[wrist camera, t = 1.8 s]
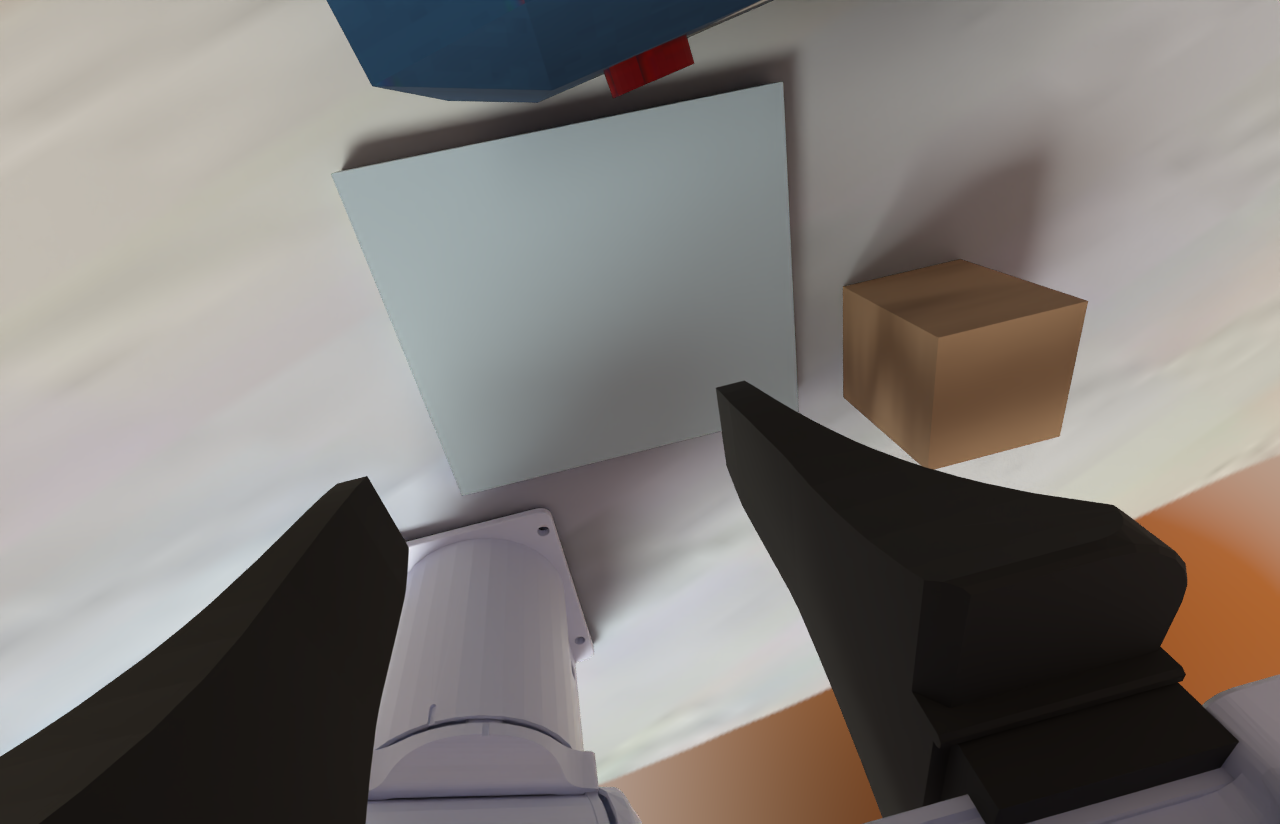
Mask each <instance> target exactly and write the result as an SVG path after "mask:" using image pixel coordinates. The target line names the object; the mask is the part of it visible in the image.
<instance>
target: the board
mask: <svg viewBox="0 0 1280 824" xmlns="http://www.w3.org/2000/svg"><path fill="white" fill-rule="evenodd" d="M331 175H332V177H333V180H334V182H335V185H336V187H337V190H338V192H339V195H340V197H341V199H342V202H343V204H344V207H345V209H346V212H347V214H348V217H349V219H350V222H351V224H352V226H353V229H354V231H355V234H356V236H357V239H358V241H359V244H360V246H361V249H362V251H363V254H364V256H365V258H366V261H367V263H368V266H369V268H370V271H371V273H372V276H373V278H374V281H375V283H376V285H377V288H378V290H379V293H380V295H381V298H382V300H383V303H384V305H385V308H386V310H387V312H388V315H389V317H390V320H391V322H392V325H393V327H394V330H395V332H396V335H397V337H398V340H399V342H400V344H401V347H402V349H403V352H404V354H405V357H406V359H407V362H408V364H409V367H410V369H411V371H412V374H413V376H414V379H415V381H416V384H417V386H418V389H419V391H420V394H421V396H422V399H423V401H424V403H425V406H426V408H427V411H428V413H429V416H430V418H431V421H432V423H433V426H434V428H435V430H436V433H437V435H438V438H439V440H440V443H441V445H442V448H443V450H444V453H445V455H446V457H447V460H448V462H449V465H450V467H451V470H452V472H453V475H454V477H455V480H456V482H457V485H458V487H459V489H460V492H461V494H462V496H464V495H468V494H472V493H476V492H480V491H484V490H488V489H492V488H496V487H500V486H504V485H508V484H512V483H516V482H520V481H524V480H528V479H532V478H536V477H540V476H544V475H548V474H552V473H556V472H560V471H564V470H568V469H572V468H576V467H580V466H584V465H588V464H592V463H596V462H600V461H604V460H608V459H612V458H616V457H620V456H624V455H628V454H632V453H636V452H640V451H644V450H648V449H652V448H656V447H660V446H664V445H668V444H672V443H676V442H680V441H684V440H688V439H692V438H696V437H700V436H704V435H708V434H712V433H716V432H720V431H722V430H721V422H720V415H719V408H718V401H717V394H716V388H717V387H720V386H724V385H728V384H732V383H736V382H740V381H744V380H745V381H746V382H748V383H750V384H751V385H753V386H755V387H756V388H758V389H760V390H761V391H763V392H764V393H766V394H768V395H769V396H771V397H773V398H774V399H776V400H778V401H779V402H781V403H783V404H784V405H786V406H788V407H789V408H791V409H793V410H795V411H796V412H799V408H798V387H797V366H796V345H795V323H794V302H793V281H792V260H791V239H790V218H789V196H788V175H787V154H786V133H785V112H784V91H783V82H776V83H769V84H764V85H759V86H754V87H750V88H745V89H740V90H735V91H730V92H725V93H720V94H715V95H710V96H705V97H700V98H696V99H691V100H686V101H681V102H676V103H671V104H666V105H661V106H656V107H651V108H646V109H642V110H637V111H632V112H627V113H622V114H617V115H612V116H607V117H602V118H597V119H592V120H588V121H583V122H578V123H573V124H568V125H563V126H558V127H553V128H548V129H543V130H539V131H534V132H529V133H524V134H519V135H514V136H509V137H504V138H499V139H494V140H489V141H485V142H480V143H475V144H470V145H465V146H460V147H455V148H450V149H445V150H440V151H435V152H431V153H426V154H421V155H416V156H411V157H406V158H401V159H396V160H391V161H386V162H382V163H377V164H372V165H367V166H362V167H357V168H352V169H347V170H342V171H338V172H335V173H332V174H331Z"/></svg>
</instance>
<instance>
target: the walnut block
mask: <svg viewBox="0 0 1280 824" xmlns="http://www.w3.org/2000/svg"><path fill="white" fill-rule="evenodd" d="M1087 304H1088V301H1086V300H1083V299H1080V298H1077V297H1074V296H1071V295H1068V294H1065V293H1062V292H1059V291H1056V290H1053V289H1050V288H1047V287H1044V286H1041V285H1038V284H1035V283H1032V282H1029V281H1025V280H1022V279H1019V278H1016V277H1013V276H1010V275H1007V274H1004V273H1001V272H998V271H995V270H992V269H989V268H986V267H983V266H980V265H977V264H974V263H971V262H968V261H965V260H962V259H958V260H954V261H950V262H946V263H941V264H937V265H933V266H929V267H924V268H920V269H916V270H912V271H907V272H903V273H899V274H895V275H890V276H886V277H882V278H878V279H873V280H869V281H865V282H861V283H856V284H852V285H848V286H843V397H844V398H845V399H846V400H847V401H848V402H849V403H851V404H852V405H853V406H854V407H855V408H856V409H857V410H859V411H860V412H861V413H862V414H863V415H864V416H865V417H866V418H868V419H869V420H870V421H871V422H872V423H873V424H874V425H876V426H877V427H878V428H879V429H880V430H881V431H882V432H884V433H885V434H886V435H887V436H888V437H889V438H890V439H892V440H893V441H894V442H895V443H896V444H897V445H898V446H900V447H901V448H902V449H903V450H904V451H905V452H906V453H907V454H909V455H910V456H911V457H912V458H913V459H914V460H915V461H917V462H918V463H919V464H920V465H921V466H923V467H926V468H930V469H933V470H934V469H938V468H941V467H945V466H949V465H953V464H957V463H960V462H964V461H968V460H972V459H976V458H979V457H983V456H987V455H991V454H994V453H998V452H1002V451H1006V450H1010V449H1013V448H1017V447H1021V446H1025V445H1028V444H1032V443H1036V442H1040V441H1044V440H1047V439H1051V438H1055V437H1059V436H1060V432H1061V427H1062V423H1063V418H1064V413H1065V408H1066V404H1067V399H1068V394H1069V389H1070V385H1071V380H1072V375H1073V370H1074V366H1075V361H1076V356H1077V351H1078V346H1079V342H1080V337H1081V332H1082V327H1083V323H1084V318H1085V313H1086V308H1087Z"/></svg>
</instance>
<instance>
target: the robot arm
mask: <svg viewBox="0 0 1280 824" xmlns="http://www.w3.org/2000/svg"><path fill="white" fill-rule="evenodd" d="M716 394H717V401H718V408H719V415H720V422H721V430H722V437H723V444H724V451H725V458H726V465H727V468H728V471H729V473H730V476H731V478H732V481H733V484H734V486H735V489H736V491H737V494H738V496H739V499H740V501H741V503H742V506H743V508H744V509H745V511H746V513H747V515H748V517H749V519H750V520H751V522H752V524H753V526H754V528H755V530H756V531H757V533H758V535H759V537H760V539H761V540H762V542H763V544H764V546H765V548H766V549H767V551H768V553H769V555H770V557H771V558H772V560H773V562H774V564H775V566H776V567H777V569H778V571H779V573H780V574H781V576H782V578H783V580H784V582H785V583H786V585H787V587H788V589H789V591H790V593H791V595H792V597H793V599H794V601H795V603H796V605H797V607H798V609H799V611H800V613H801V616H802V618H803V620H804V623H805V625H806V627H807V630H808V632H809V634H810V637H811V639H812V641H813V644H814V646H815V648H816V651H817V653H818V655H819V658H820V660H821V663H822V665H823V667H824V670H825V672H826V675H827V677H828V680H829V682H830V684H831V687H832V689H833V691H834V694H835V697H836V699H837V701H838V704H839V706H840V709H841V711H842V714H843V717H844V719H845V721H846V724H847V727H848V729H849V732H850V734H851V737H852V739H853V741H854V744H855V747H856V749H857V752H858V754H859V757H860V759H861V762H862V765H863V767H864V770H865V773H866V775H867V778H868V780H869V783H870V786H871V788H872V791H873V794H874V796H875V799H876V802H877V804H878V807H879V809H880V812H881V815H882V817H883V818H882V819H878V820H875V821H871V822H868V823H864V824H1280V675H1276V676H1273V677H1269V678H1265V679H1262V680H1259V681H1255V682H1251V683H1248V684H1244V685H1241V686H1237V687H1233V688H1231V689H1228V690H1226V691H1223V692H1221V693H1219V694H1217V695H1215V696H1214V697H1212V698H1210V699H1209V700H1207V701H1206V702H1205V703H1204V704H1203V705H1201V704H1200V703H1199V702H1198V701H1197V700H1196V699H1195V698H1194V697H1193V696H1192V695H1190V694H1189V693H1188V692H1187V691H1186V690H1185V689H1184V688H1183V687H1182V686H1181V685H1180V684H1179V683H1178V682H1180V681H1183V679H1184V677H1185V675H1186V674H1185V672H1184V670H1183V668H1182V666H1181V665H1180V664H1178V663H1177V662H1176V661H1175V660H1174V659H1173V658H1172V657H1171V656H1170V655H1169V654H1168V653H1167V652H1166V651H1164V650H1163V649H1162V648H1161V647H1160V646H1161V644H1162V642H1163V640H1164V638H1165V636H1166V634H1167V631H1168V629H1169V627H1170V625H1171V623H1172V621H1173V619H1174V617H1175V615H1176V613H1177V611H1178V609H1179V607H1180V605H1181V603H1182V600H1183V597H1184V594H1185V591H1186V587H1187V573H1186V565H1185V562H1184V561H1183V560H1182V559H1181V558H1180V556H1179V555H1178V554H1177V553H1176V552H1175V551H1174V550H1173V549H1171V548H1170V547H1169V546H1168V545H1166V544H1165V543H1164V542H1162V541H1161V540H1160V539H1158V538H1157V537H1156V536H1154V535H1153V534H1152V533H1150V532H1149V531H1148V530H1146V529H1145V528H1144V527H1142V526H1141V525H1139V523H1137V522H1136V521H1135V520H1133V519H1132V518H1131V517H1129V516H1128V515H1127V514H1125V513H1124V512H1123V511H1121V510H1120V509H1118V508H1117V507H1115V506H1114V505H1109V504H1103V503H1096V502H1089V501H1082V500H1076V499H1069V498H1062V497H1055V496H1048V495H1042V494H1035V493H1030V492H1025V491H1020V490H1015V489H1010V488H1005V487H1001V486H996V485H991V484H986V483H982V482H978V481H974V480H970V479H966V478H962V477H958V476H954V475H951V474H947V473H944V472H940V471H937V470H933V469H930V468H926V467H923V466H920V465H917V464H914V463H911V462H908V461H905V460H902V459H899V458H896V457H894V456H891V455H888V454H886V453H883V452H880V451H878V450H875V449H872V448H870V447H867V446H865V445H863V444H860V443H858V442H856V441H853V440H851V439H849V438H847V437H845V436H843V435H841V434H839V433H836V432H834V431H832V430H830V429H828V428H826V427H824V426H822V425H820V424H818V423H816V422H814V421H813V420H811V419H809V418H807V417H805V416H803V415H802V414H800V413H798V412H796V411H795V410H793V409H791V408H789V407H788V406H786V405H784V404H783V403H781V402H779V401H778V400H776V399H774V398H773V397H771V396H769V395H768V394H766V393H764V392H763V391H761V390H760V389H758V388H756V387H755V386H753V385H751V384H750V383H748V382H746V381H745V380H744V381H740V382H736V383H732V384H728V385H724V386H720V387H717V388H716ZM544 526H545V527H548V529H546V530H539V528H540V527H544ZM578 637H581V638H578ZM593 655H594V646H593V643H592V640H591V637H590V633H589V630H588V627H587V624H586V621H585V618H584V615H583V612H582V608H581V605H580V602H579V599H578V596H577V593H576V590H575V586H574V583H573V580H572V577H571V574H570V571H569V568H568V564H567V561H566V558H565V555H564V552H563V549H562V546H561V543H560V539H559V536H558V533H557V530H556V527H555V524H554V521H553V517H552V514H551V513H550V511H548V510H547V509H544V508H537V509H533V510H529V511H525V512H521V513H517V514H513V515H509V516H505V517H501V518H497V519H493V520H490V521H486V522H482V523H478V524H474V525H470V526H466V527H462V528H458V529H454V530H450V531H446V532H442V533H438V534H435V535H431V536H427V537H423V538H419V539H415V540H411V541H407V542H405V540H404V538H403V537H402V535H401V533H400V532H399V530H398V528H397V526H396V525H395V523H394V521H393V520H392V518H391V516H390V514H389V513H388V511H387V509H386V508H385V506H384V504H383V502H382V501H381V499H380V497H379V496H378V494H377V492H376V490H375V489H374V487H373V485H372V484H371V482H370V480H369V478H368V477H367V476H366V477H362V478H358V479H354V480H350V481H346V482H342V483H338V484H336V485H335V486H334V487H333V488H331V489H330V490H329V491H328V492H327V493H326V494H324V495H323V496H322V497H321V498H320V499H319V500H318V501H317V502H316V503H315V504H314V505H313V506H312V507H311V508H310V509H309V510H307V511H306V512H305V513H304V514H303V515H302V516H301V517H300V518H299V519H298V520H297V521H296V522H295V523H294V524H293V525H292V526H291V527H290V528H289V529H288V530H287V531H286V532H285V533H284V534H283V535H282V536H281V537H280V538H279V539H278V540H277V541H276V542H275V543H274V544H273V545H272V546H271V547H270V548H269V549H268V550H267V551H266V552H265V553H264V554H263V555H262V556H261V557H260V558H259V559H258V560H257V561H256V562H255V563H254V564H253V565H251V566H250V567H249V568H248V569H247V570H246V571H245V572H244V573H243V574H242V575H241V576H240V577H238V578H237V579H236V580H235V581H234V582H233V583H232V584H231V585H230V586H229V587H228V588H227V589H226V590H224V591H223V592H222V593H221V594H220V595H219V596H218V597H217V598H216V599H215V600H214V601H213V602H211V603H210V604H209V605H208V606H207V607H206V608H205V609H203V610H202V611H201V612H200V613H199V614H198V615H197V616H195V617H194V618H193V619H192V620H191V621H189V622H188V623H187V624H186V625H185V626H183V627H182V628H181V629H180V630H179V631H177V632H176V633H175V634H174V635H172V636H171V637H170V638H169V639H167V640H166V641H165V642H164V643H162V644H161V645H160V646H159V647H157V648H156V649H155V650H154V651H152V652H151V653H150V654H148V655H147V656H146V657H145V658H143V659H142V660H141V661H139V662H138V663H137V664H135V665H134V666H132V667H131V668H130V669H128V670H127V671H126V672H124V673H123V674H121V675H120V676H119V677H117V678H116V679H114V680H113V681H112V682H110V683H109V684H108V685H106V686H105V687H103V688H102V689H101V690H99V691H98V692H97V693H95V694H94V695H92V696H91V697H90V698H88V699H87V700H85V701H84V702H83V703H81V704H80V705H79V706H77V707H76V708H74V709H73V710H71V711H70V712H68V713H67V714H65V715H64V716H62V717H61V718H59V719H58V720H56V721H55V722H53V723H52V724H50V725H49V726H47V727H46V728H44V729H43V730H41V731H40V732H38V733H37V734H35V735H34V736H32V737H31V738H29V739H27V740H26V741H24V742H23V743H21V744H20V745H18V746H16V747H15V748H13V749H12V750H10V751H9V752H7V753H5V754H4V755H2V756H1V757H0V824H642V822H641V820H640V818H639V816H638V815H637V813H636V812H635V811H634V810H633V808H632V807H631V805H630V803H629V801H628V800H627V798H626V796H625V795H624V794H623V792H622V791H620V790H619V789H618V788H615V787H598V778H597V770H596V761H595V753H594V752H591V751H584V747H583V737H582V727H581V717H580V706H579V696H578V686H577V675H576V665H575V663H578V662H581V661H585V660H588V659H590V658H591V657H592V656H593Z"/></svg>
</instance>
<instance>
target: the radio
mask: <svg viewBox="0 0 1280 824" xmlns="http://www.w3.org/2000/svg"><path fill="white" fill-rule="evenodd" d="M771 1H773V0H327V2H328V4H329V6H330V8H331V9H332V11H333V13H334V15H335V17H336V19H337V21H338V23H339V25H340V26H341V28H342V30H343V32H344V34H345V36H346V38H347V40H348V41H349V43H350V45H351V47H352V49H353V51H354V53H355V55H356V56H357V58H358V60H359V62H360V64H361V66H362V68H363V70H364V71H365V73H366V75H367V77H368V79H369V81H370V83H371V85H372V86H374V87H379V88H385V89H390V90H395V91H400V92H405V93H411V94H416V95H421V96H426V97H431V98H437V99H442V100H447V101H483V102H532V103H538V102H540V101H542V100H545V99H547V98H549V97H552V96H554V95H556V94H559V93H561V92H563V91H566V90H568V89H570V88H572V87H575V86H577V85H579V84H582V83H584V82H586V81H589V80H591V79H593V78H596V77H598V76H600V75H602V74H605V77H606V80H607V83H608V85H609V88H610V91H611V94H612V97H613V98H616V97H618V96H620V95H622V94H625V93H627V92H629V91H632V90H634V89H636V88H639V87H641V86H643V85H646V84H648V83H650V82H653V81H655V80H657V79H660V78H662V77H664V76H666V75H669V74H671V73H673V72H676V71H678V70H680V69H683V68H685V67H687V66H690V65H692V64H694V60H693V57H692V53H691V50H690V46H689V43H688V39H687V38H688V37H690V36H692V35H695V34H697V33H699V32H702V31H704V30H706V29H709V28H711V27H713V26H716V25H718V24H720V23H722V22H725V21H727V20H729V19H732V18H734V17H736V16H739V15H741V14H743V13H746V12H748V11H750V10H752V9H755V8H757V7H759V6H762V5H764V4H766V3H769V2H771Z"/></svg>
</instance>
